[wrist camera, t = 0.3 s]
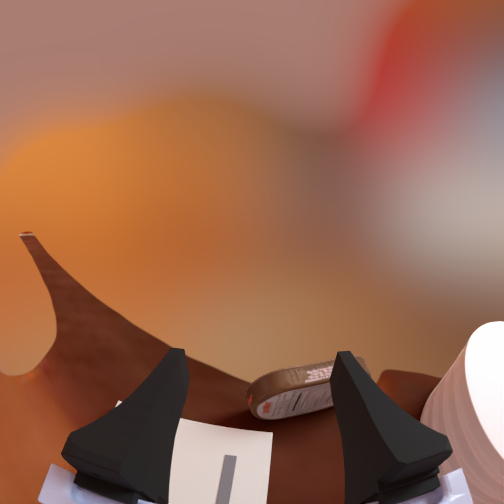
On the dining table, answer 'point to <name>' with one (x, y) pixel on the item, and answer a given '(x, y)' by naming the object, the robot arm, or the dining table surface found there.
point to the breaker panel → (219, 465)
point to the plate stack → (474, 414)
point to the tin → (293, 390)
